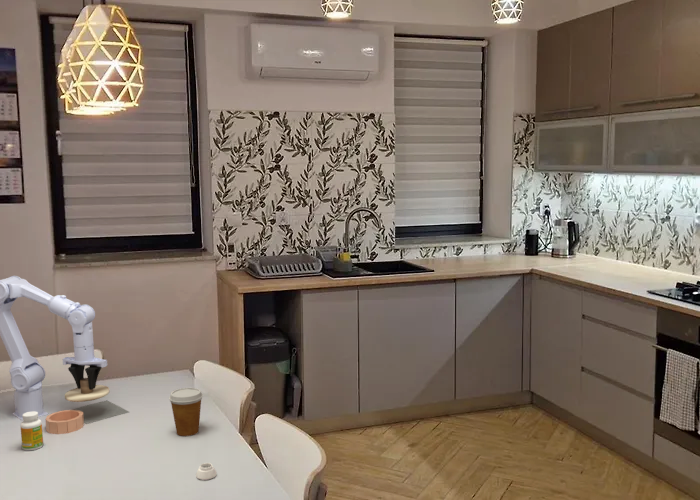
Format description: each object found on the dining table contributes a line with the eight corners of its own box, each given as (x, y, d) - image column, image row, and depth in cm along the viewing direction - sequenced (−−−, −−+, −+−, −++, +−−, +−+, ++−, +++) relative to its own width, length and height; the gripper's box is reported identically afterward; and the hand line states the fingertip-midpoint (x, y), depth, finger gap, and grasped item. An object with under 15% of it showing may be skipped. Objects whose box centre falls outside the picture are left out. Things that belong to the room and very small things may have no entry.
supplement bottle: (35, 451, 196) (32, 417, 195) (18, 450, 197) (15, 416, 196) (47, 444, 201) (44, 410, 200) (30, 442, 202) (27, 409, 201)
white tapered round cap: (196, 482, 176) (216, 479, 177) (195, 470, 175) (216, 468, 176) (196, 473, 181) (216, 471, 182) (195, 462, 180) (215, 460, 181)
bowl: (41, 429, 212) (40, 416, 212) (75, 419, 219) (74, 407, 219) (55, 438, 205) (54, 424, 205) (89, 428, 212) (88, 415, 212)
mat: (64, 412, 226) (64, 411, 226) (107, 401, 236) (107, 400, 236) (86, 425, 215) (86, 423, 215) (129, 413, 224) (129, 411, 224)
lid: (58, 395, 221) (56, 380, 220) (98, 384, 230) (97, 370, 229) (75, 405, 212) (74, 389, 211) (116, 393, 221) (115, 378, 220)
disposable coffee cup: (211, 431, 208) (209, 391, 207) (183, 441, 201) (181, 400, 200) (192, 423, 215) (190, 385, 213) (164, 432, 208) (162, 393, 206)
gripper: (112, 343, 220) (114, 385, 222) (71, 340, 224) (74, 382, 226) (98, 349, 214) (101, 392, 215) (56, 346, 218) (60, 389, 219)
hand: (86, 388), depth 220 cm, fingers closed on lid, 4 cm apart
